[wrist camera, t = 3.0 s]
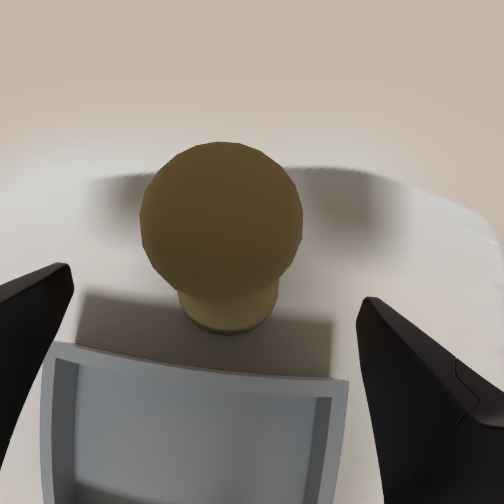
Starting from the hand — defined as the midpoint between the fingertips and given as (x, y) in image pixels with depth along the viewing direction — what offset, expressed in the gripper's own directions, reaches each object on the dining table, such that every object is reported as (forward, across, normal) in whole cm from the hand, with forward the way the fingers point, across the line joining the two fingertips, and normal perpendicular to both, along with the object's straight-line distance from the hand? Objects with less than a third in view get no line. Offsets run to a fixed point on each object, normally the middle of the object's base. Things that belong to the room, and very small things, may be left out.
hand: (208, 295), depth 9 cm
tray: (0, +1, +13) cm, 13 cm away
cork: (+9, 0, +5) cm, 10 cm away
